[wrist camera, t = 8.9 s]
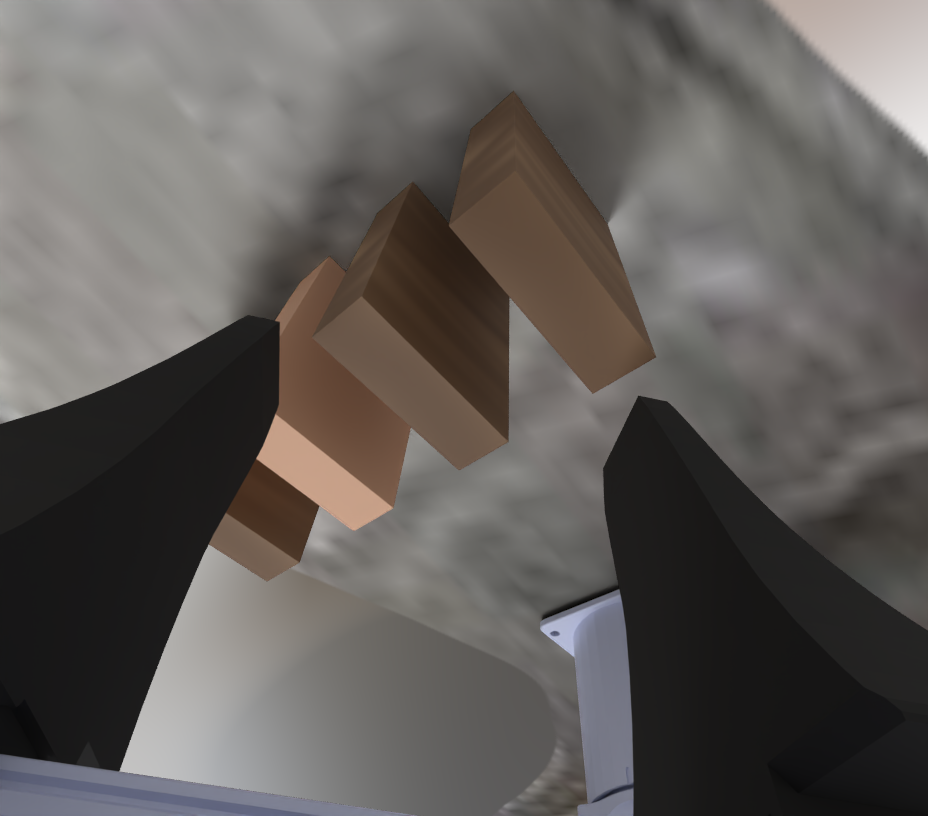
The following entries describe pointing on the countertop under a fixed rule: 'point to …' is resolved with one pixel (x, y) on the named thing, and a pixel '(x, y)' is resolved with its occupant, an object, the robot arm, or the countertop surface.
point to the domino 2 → (330, 417)
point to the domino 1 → (266, 524)
